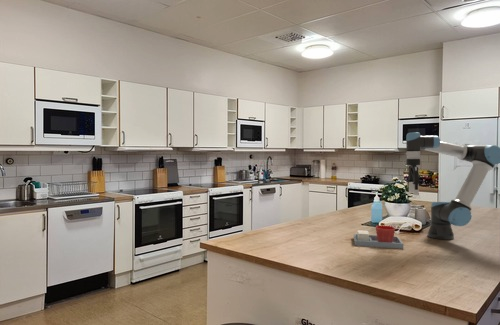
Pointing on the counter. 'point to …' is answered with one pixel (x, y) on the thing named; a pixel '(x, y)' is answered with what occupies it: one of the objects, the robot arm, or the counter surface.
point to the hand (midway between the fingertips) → (413, 193)
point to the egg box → (362, 235)
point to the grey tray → (374, 242)
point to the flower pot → (385, 233)
